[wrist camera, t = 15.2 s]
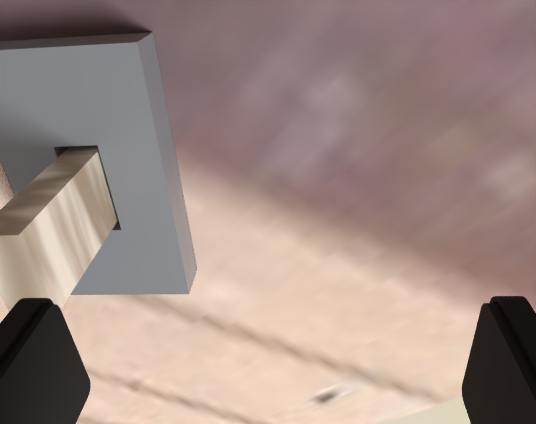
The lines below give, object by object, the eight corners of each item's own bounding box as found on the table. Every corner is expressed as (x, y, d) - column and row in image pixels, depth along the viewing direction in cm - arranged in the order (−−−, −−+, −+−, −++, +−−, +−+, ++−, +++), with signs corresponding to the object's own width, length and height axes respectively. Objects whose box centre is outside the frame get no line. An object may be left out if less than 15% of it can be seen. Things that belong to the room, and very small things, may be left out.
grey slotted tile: (152, 32, 36) (137, 42, 32) (197, 268, 48) (189, 294, 45) (-13, 41, 37) (-45, 52, 34) (72, 270, 49) (55, 294, 46)
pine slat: (112, 135, 41) (18, 235, 27) (129, 201, 44) (54, 319, 31) (81, 136, 41) (-29, 236, 27) (100, 202, 45) (12, 319, 31)
